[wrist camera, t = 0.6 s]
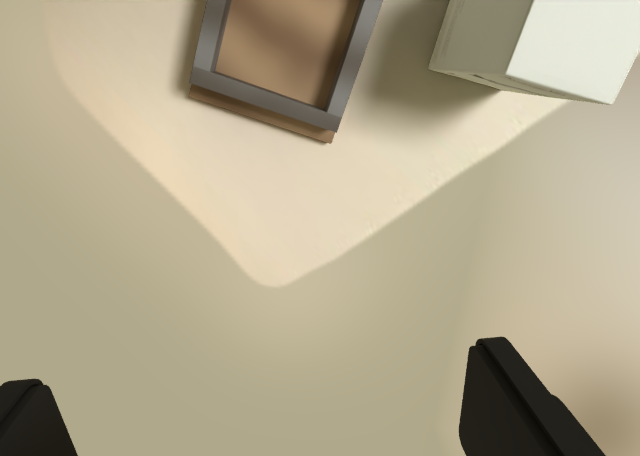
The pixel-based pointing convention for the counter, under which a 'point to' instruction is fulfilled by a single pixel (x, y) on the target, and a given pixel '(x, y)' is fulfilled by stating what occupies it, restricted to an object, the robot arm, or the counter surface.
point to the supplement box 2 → (541, 46)
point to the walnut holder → (283, 59)
